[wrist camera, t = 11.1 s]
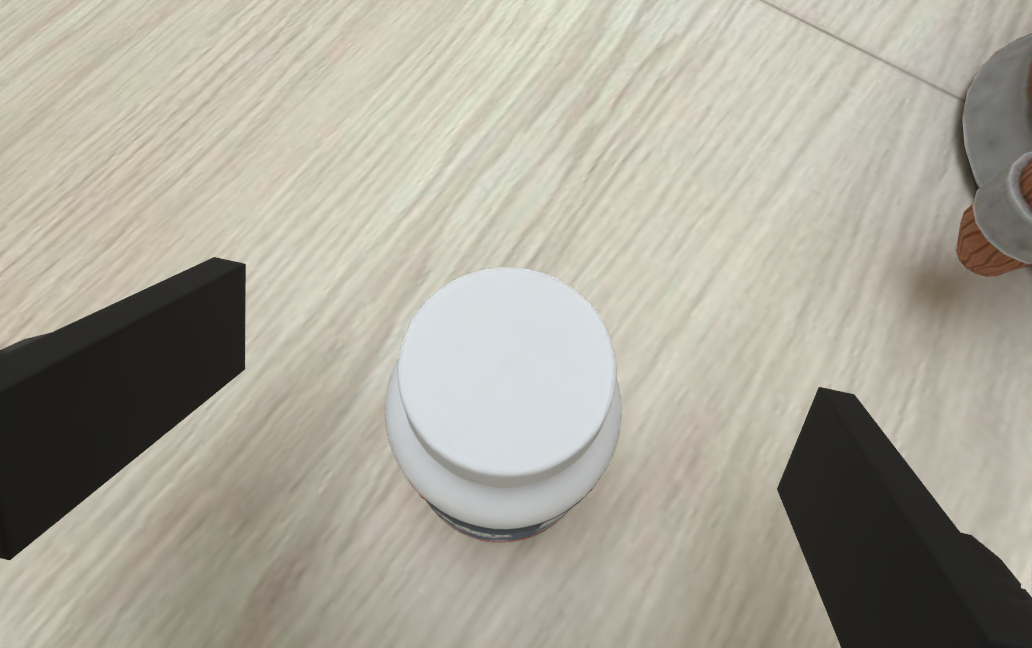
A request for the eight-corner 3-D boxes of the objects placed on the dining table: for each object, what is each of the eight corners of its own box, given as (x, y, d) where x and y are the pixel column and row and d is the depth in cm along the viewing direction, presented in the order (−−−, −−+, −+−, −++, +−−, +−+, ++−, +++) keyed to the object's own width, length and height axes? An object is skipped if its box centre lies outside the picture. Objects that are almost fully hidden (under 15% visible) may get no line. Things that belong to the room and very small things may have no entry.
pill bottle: (380, 462, 19) (292, 372, 11) (493, 342, 21) (489, 186, 13) (511, 584, 18) (521, 584, 10) (620, 447, 20) (708, 348, 11)
